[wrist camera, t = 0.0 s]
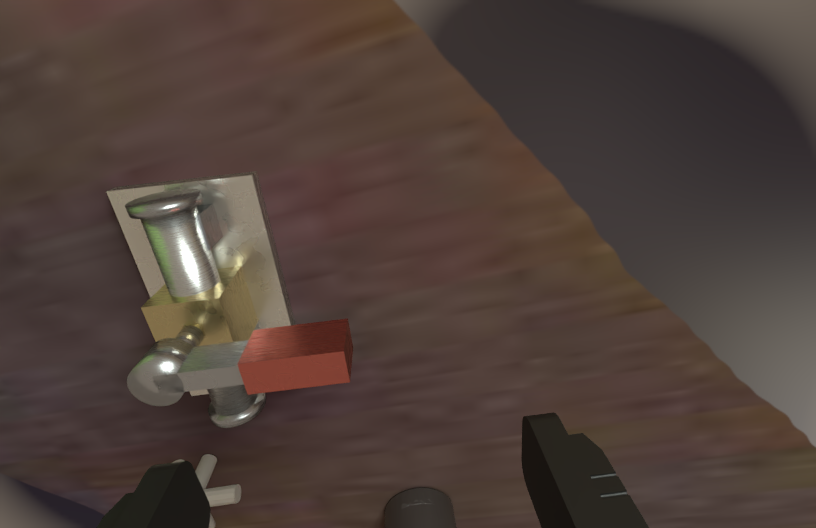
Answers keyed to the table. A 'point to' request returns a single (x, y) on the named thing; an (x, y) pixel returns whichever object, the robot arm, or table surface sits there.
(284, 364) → the valve lever
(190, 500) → the robot arm
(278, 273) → the valve fixture
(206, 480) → the pipe connector
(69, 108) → the table surface
